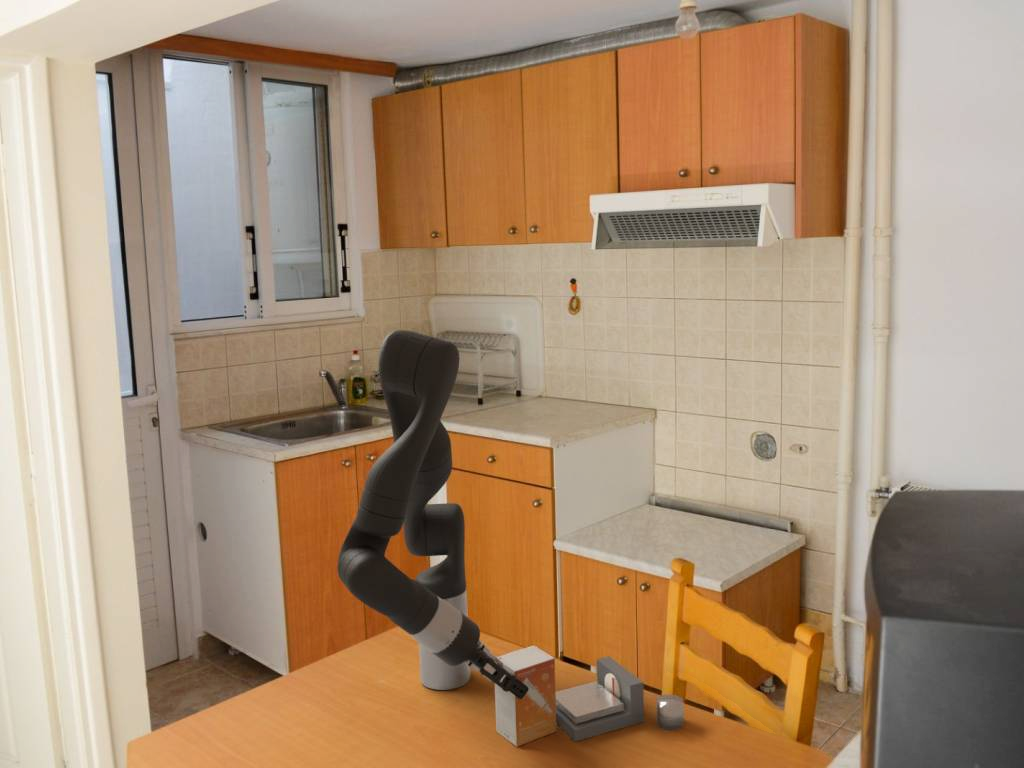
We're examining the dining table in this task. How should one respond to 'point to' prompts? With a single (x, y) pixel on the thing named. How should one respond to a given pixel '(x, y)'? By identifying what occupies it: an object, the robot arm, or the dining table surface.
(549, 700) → the small box
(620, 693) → the scale base
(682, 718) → the cylinder
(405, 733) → the dining table surface
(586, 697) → the platter
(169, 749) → the dining table surface
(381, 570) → the robot arm
